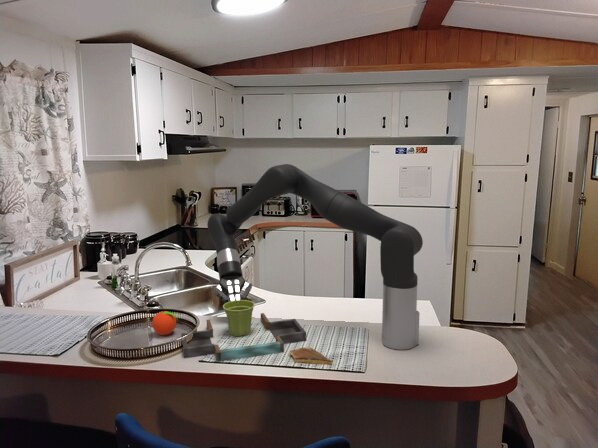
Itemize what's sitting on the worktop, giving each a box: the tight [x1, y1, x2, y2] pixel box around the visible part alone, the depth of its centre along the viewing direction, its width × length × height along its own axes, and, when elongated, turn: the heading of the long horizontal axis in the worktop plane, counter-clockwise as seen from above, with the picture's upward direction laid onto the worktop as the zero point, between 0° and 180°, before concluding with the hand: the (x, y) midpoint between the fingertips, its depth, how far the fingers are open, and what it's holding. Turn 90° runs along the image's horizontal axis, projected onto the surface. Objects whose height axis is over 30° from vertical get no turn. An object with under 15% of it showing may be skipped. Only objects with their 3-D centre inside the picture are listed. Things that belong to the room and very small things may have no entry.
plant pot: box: [222, 299, 256, 337], centre depth 137 cm, size 9×9×9 cm
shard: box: [288, 347, 334, 365], centre depth 119 cm, size 11×8×2 cm
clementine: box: [151, 310, 179, 336], centre depth 137 cm, size 8×7×7 cm
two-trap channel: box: [180, 312, 307, 362], centre depth 133 cm, size 34×24×2 cm
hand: (237, 313), depth 142 cm, fingers closed
